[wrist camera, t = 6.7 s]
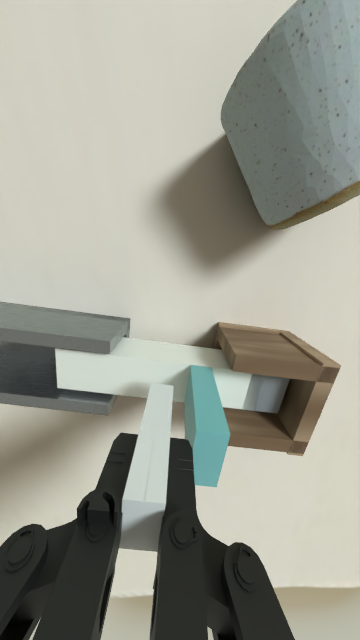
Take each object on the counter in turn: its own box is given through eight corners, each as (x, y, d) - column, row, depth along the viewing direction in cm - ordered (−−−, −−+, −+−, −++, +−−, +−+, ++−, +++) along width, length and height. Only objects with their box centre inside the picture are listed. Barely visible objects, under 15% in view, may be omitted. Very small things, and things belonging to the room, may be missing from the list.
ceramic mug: (254, 242, 17) (314, 226, 9) (209, 143, 15) (240, 21, 7) (377, 168, 15) (564, 80, 8) (346, 46, 13) (559, -228, 6)
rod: (78, 331, 18) (-29, 405, 9) (270, 355, 18) (358, 449, 9) (79, 365, 19) (-16, 463, 10) (261, 387, 19) (331, 499, 10)
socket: (218, 322, 19) (236, 352, 13) (288, 331, 19) (341, 365, 13) (204, 391, 21) (214, 446, 15) (267, 399, 21) (302, 455, 15)
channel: (-18, 299, 18) (-99, 315, 13) (130, 318, 19) (110, 341, 13) (-8, 359, 20) (-76, 394, 15) (126, 375, 21) (108, 415, 15)
